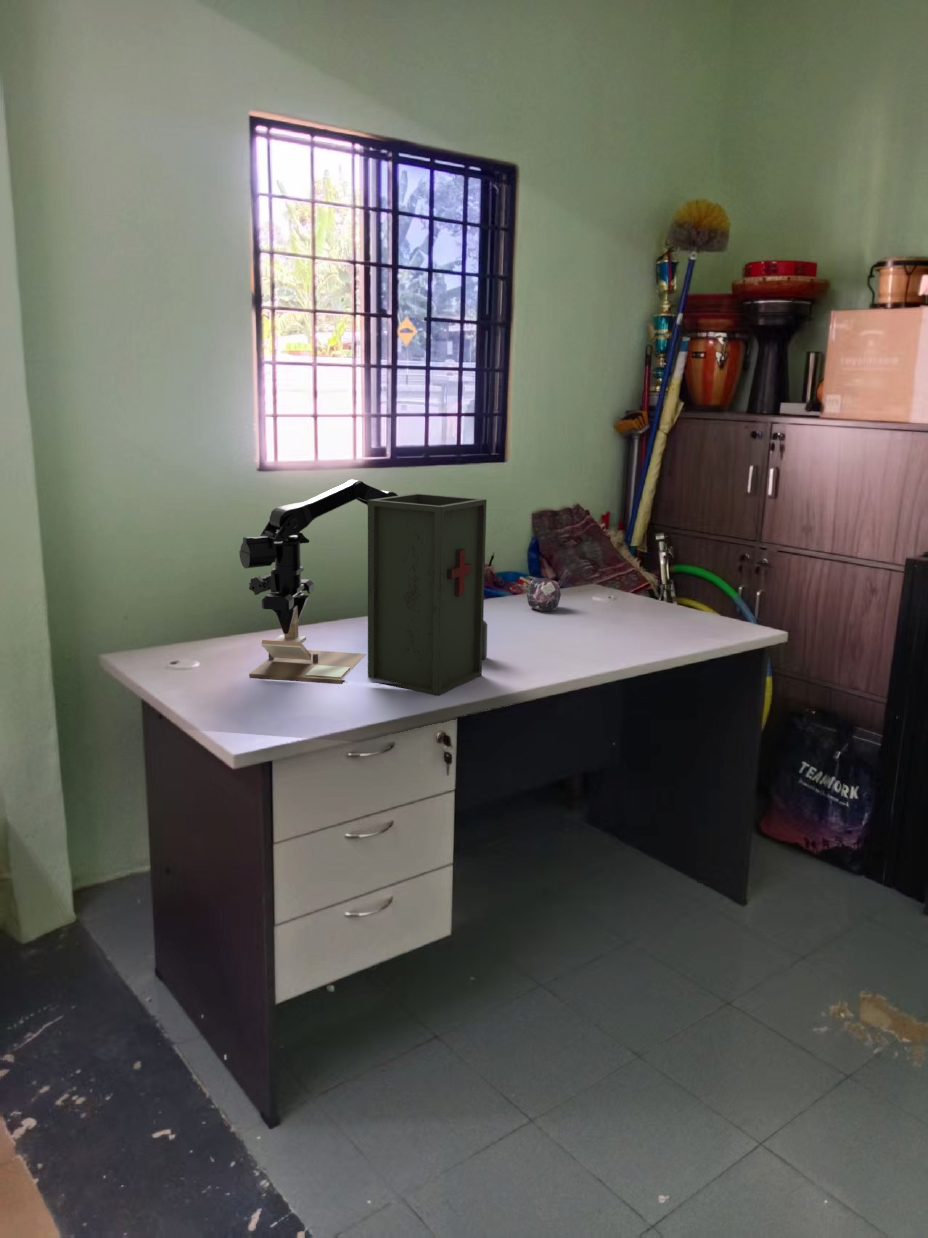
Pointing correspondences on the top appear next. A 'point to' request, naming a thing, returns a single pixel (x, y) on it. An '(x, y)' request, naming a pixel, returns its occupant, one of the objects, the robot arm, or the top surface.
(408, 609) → the first aid box
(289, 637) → the stamp
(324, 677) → the board
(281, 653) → the tile
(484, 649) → the supplement bottle
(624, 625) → the top surface
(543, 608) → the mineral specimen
